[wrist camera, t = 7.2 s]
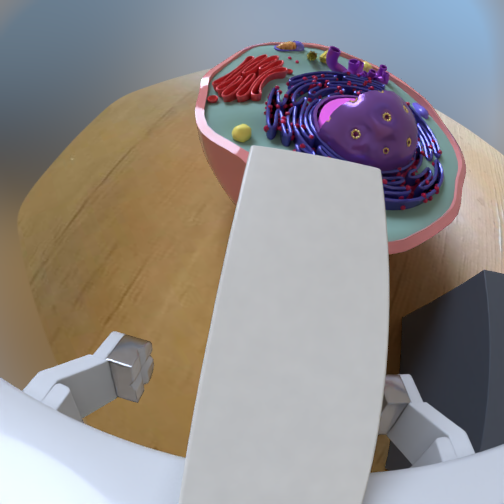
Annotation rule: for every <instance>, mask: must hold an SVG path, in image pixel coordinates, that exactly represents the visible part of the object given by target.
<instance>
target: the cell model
mask: <svg viewBox="0 0 504 504" xmlns="http://www.w3.org/2000/svg"><path fill="white" fill-rule="evenodd" d="M386 70H387V67H386V66H385V65H380V67H378V66H376V65H373V64H371V63H369V62H366V61H364V60H362V59H359V58H357V57H355V56H352V55H349V54H347V53H345V52H342V51H340V50H339V49H338V48H336V47H334V46H330V47H327V46H324V45H319V44H313V43H301V42H299V41H293V42H290V41H289V42H270V43H263V44H256V45H252V46H249V47H246V48H244V49H242V50H240V51H238V52H237V53H235V54H234V55H232V56H231V57H229V58H228V59H226V60H224V61H223V62H221V63H220V64H218V65H217V66H215V67H214V68H212V69H211V70H209V71H208V72H207V73H206V74H205V75H204V76H203V78H202V80H201V85H200V91H199V95H198V99H197V103H196V109H195V116H196V124H197V129H198V135H199V140H200V143H201V146H202V149H203V152H204V154H205V157H206V159H207V162H208V164H209V165H210V167H211V169H212V171H213V173H214V175H215V176H216V178H217V180H218V182H219V183H220V185H221V186H222V188H223V189H224V191H225V192H226V194H227V195H228V196H229V198H230V199H231V200H232V202H233V203H234V204H235V205H237V201H238V197H239V193H240V188H241V184H242V180H243V176H244V171H245V167H246V163H247V159H248V155H249V151H250V148H251V146H253V145H255V146H263V147H270V148H277V149H284V150H290V151H296V152H302V153H308V154H313V155H319V156H324V157H329V158H334V159H339V160H344V161H349V162H353V163H358V164H362V165H366V166H371V167H375V168H379V169H380V170H381V175H382V182H383V191H384V200H385V210H386V221H387V235H388V252H389V254H394V253H400V252H404V251H407V250H409V249H412V248H414V247H416V246H418V245H420V244H421V243H423V242H425V241H426V240H428V239H430V238H431V237H433V236H434V235H436V234H437V233H438V232H440V231H441V230H442V229H444V228H445V227H446V226H448V225H449V224H450V223H452V221H453V220H454V219H455V217H456V216H457V215H458V212H459V209H460V204H461V196H462V187H463V183H464V179H465V174H466V164H465V160H464V156H463V154H462V151H461V149H460V147H459V145H458V144H457V142H456V140H455V139H454V137H453V136H452V134H451V133H450V131H449V130H448V128H447V127H446V126H445V124H444V123H443V121H442V120H441V118H440V117H439V115H438V114H437V112H436V111H435V110H434V108H433V107H432V105H431V104H430V103H429V102H428V101H427V100H426V99H425V98H424V97H423V96H421V95H420V94H419V93H417V92H416V91H415V90H414V89H413V88H411V87H410V86H409V85H407V84H406V83H405V82H403V81H402V80H400V79H399V78H397V77H396V76H394V75H392V74H391V73H389V72H387V71H386Z"/></svg>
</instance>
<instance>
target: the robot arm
mask: <svg viewBox="0 0 504 504" xmlns="http://www.w3.org/2000/svg"><path fill="white" fill-rule="evenodd" d="M151 352H152V343H151V342H150V341H147V340H143V339H140V338H136V337H133V336H130V335H125V334H122V333H119V332H116V331H114V332H112V333H111V334H110V335H109V336H108V337H107V339H106V340H105V341H104V342H103V343H102V345H101V346H100V347H99V348H98V349H97V351H96V352H95V353H94V354H93V355H90V354H89V355H86V356H83V357H81V358H78V359H75V360H72V361H69V362H66V363H64V364H61V365H58V366H55V367H52V368H49V369H46V370H43V371H40V372H39V373H38V374H37V375H36V376H35V377H34V378H33V379H32V380H31V382H30V383H29V384H28V385H27V386H26V387H25V388H24V390H23V391H21V390H19V389H18V388H16V387H15V386H13V385H11V384H10V383H8V382H7V381H5V380H4V379H2V378H1V377H0V504H178V503H179V496H180V490H181V484H182V477H183V471H184V465H185V459H186V458H184V457H180V456H176V455H172V454H168V453H165V452H161V451H158V450H154V449H151V448H148V447H144V446H141V445H138V444H135V443H132V442H129V441H127V440H124V439H121V438H118V437H116V436H113V435H110V434H108V433H105V432H103V431H100V430H98V429H95V428H93V427H91V426H88V425H86V424H84V422H83V420H82V418H84V417H85V416H87V415H89V414H90V413H92V412H94V411H96V410H97V409H99V408H101V407H102V406H104V405H106V404H107V403H109V402H111V401H112V400H114V399H116V398H117V397H120V398H123V399H127V400H130V401H133V402H137V403H138V402H139V400H140V398H141V396H142V394H143V392H144V384H146V383H148V382H149V381H150V379H151V376H152V373H153V366H154V362H153V358H152V357H151V356H150V354H151ZM385 434H387V436H388V438H389V439H390V440H391V441H392V442H393V443H394V444H395V446H396V447H397V448H398V449H399V450H400V451H401V452H402V453H403V455H404V456H405V457H406V458H407V459H408V460H409V461H410V463H411V464H412V466H411V467H410V468H407V469H400V470H392V471H383V472H373V473H370V475H369V480H368V484H367V488H366V492H365V495H364V499H363V503H362V504H504V444H502V445H499V446H497V447H494V448H491V449H488V450H485V451H482V452H478V453H475V451H474V449H473V447H472V445H471V442H470V440H469V438H468V436H467V433H466V432H465V431H464V430H463V429H461V428H460V427H459V426H457V425H456V424H455V423H453V422H452V421H451V420H449V419H448V418H447V417H445V416H444V415H443V414H441V413H440V412H439V411H437V410H436V409H435V408H433V407H432V406H431V405H429V404H428V403H427V402H423V400H422V398H421V396H420V394H419V392H418V389H417V387H416V385H415V383H414V381H413V378H412V376H411V375H410V374H386V377H385V387H384V396H383V404H382V411H381V418H380V424H379V430H378V435H385Z"/></svg>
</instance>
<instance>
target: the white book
mask: <svg viewBox="0 0 504 504" xmlns="http://www.w3.org/2000/svg"><path fill="white" fill-rule="evenodd" d="M388 336H389V252H388V235H387V221H386V210H385V200H384V191H383V182H382V175H381V170H380V169H379V168H375V167H371V166H366V165H362V164H358V163H353V162H349V161H344V160H339V159H334V158H329V157H324V156H319V155H313V154H308V153H302V152H296V151H290V150H284V149H277V148H270V147H263V146H255V145H253V146H251V148H250V151H249V155H248V159H247V163H246V167H245V171H244V176H243V180H242V184H241V188H240V193H239V197H238V201H237V205H236V210H235V214H234V218H233V223H232V227H231V232H230V236H229V241H228V245H227V250H226V254H225V259H224V263H223V268H222V273H221V277H220V282H219V287H218V291H217V296H216V301H215V306H214V310H213V315H212V320H211V325H210V330H209V335H208V340H207V345H206V350H205V355H204V360H203V365H202V370H201V376H200V381H199V386H198V392H197V397H196V402H195V408H194V413H193V419H192V424H191V430H190V436H189V442H188V447H187V453H186V459H185V465H184V471H183V477H182V484H181V490H180V496H179V503H178V504H362V503H363V499H364V495H365V492H366V488H367V484H368V480H369V475H370V471H371V467H372V462H373V457H374V452H375V447H376V442H377V436H378V430H379V424H380V418H381V411H382V404H383V396H384V387H385V377H386V366H387V353H388Z"/></svg>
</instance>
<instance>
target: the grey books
mask: <svg viewBox="0 0 504 504" xmlns="http://www.w3.org/2000/svg"><path fill="white" fill-rule="evenodd" d="M399 374H410V375H411V376H412V378H413V381H414V383H415V385H416V387H417V389H418V392H419V394H420V396H421V398H422V400H423V402H427V403H428V404H429V405H431V406H432V407H433V408H435V409H436V410H437V411H439V412H440V413H441V414H443V415H444V416H445V417H447V418H448V419H449V420H451V421H452V422H453V423H455V424H456V425H457V426H459V427H460V428H461V429H463V430H464V431H465V432H466V433H467V436H468V438H469V440H470V442H471V445H472V447H473V449H474V451H475V453H478V452H482V451H485V450H488V449H491V448H494V447H497V446H499V445H502V444H504V274H502V273H497V272H493V271H488V270H483V271H481V272H480V273H478V274H477V275H475V276H474V277H472V278H471V279H469V280H467V281H466V282H464V283H463V284H461V285H459V286H458V287H456V288H454V289H453V290H451V291H449V292H448V293H446V294H444V295H442V296H441V297H439V298H437V299H435V300H434V301H432V302H430V303H428V304H427V305H425V306H423V307H421V308H419V309H417V310H415V311H414V312H412V313H410V314H408V315H406V316H404V317H402V342H401V360H400V373H399ZM411 466H412V464H411V463H410V461H409V460H408V459H407V458H406V457H405V456H404V455H403V453H402V452H401V451H400V450H399V449H398V448H397V447H396V446H395V444H394V443H393V442H392V441H390V446H389V452H388V457H387V461H386V466H385V469H387V470H389V471H392V470H400V469H407V468H410V467H411Z"/></svg>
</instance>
